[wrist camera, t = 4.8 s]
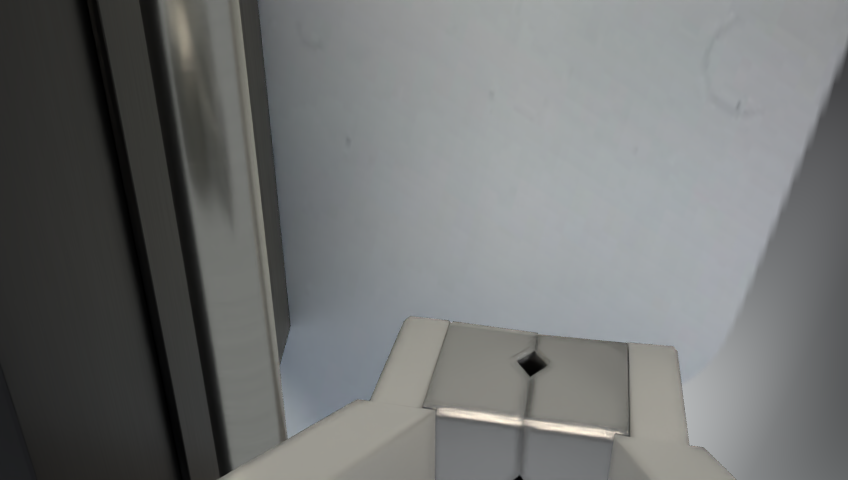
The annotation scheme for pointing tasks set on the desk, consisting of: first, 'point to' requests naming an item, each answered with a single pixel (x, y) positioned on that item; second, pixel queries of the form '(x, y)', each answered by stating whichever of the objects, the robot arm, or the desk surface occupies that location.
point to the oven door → (137, 241)
